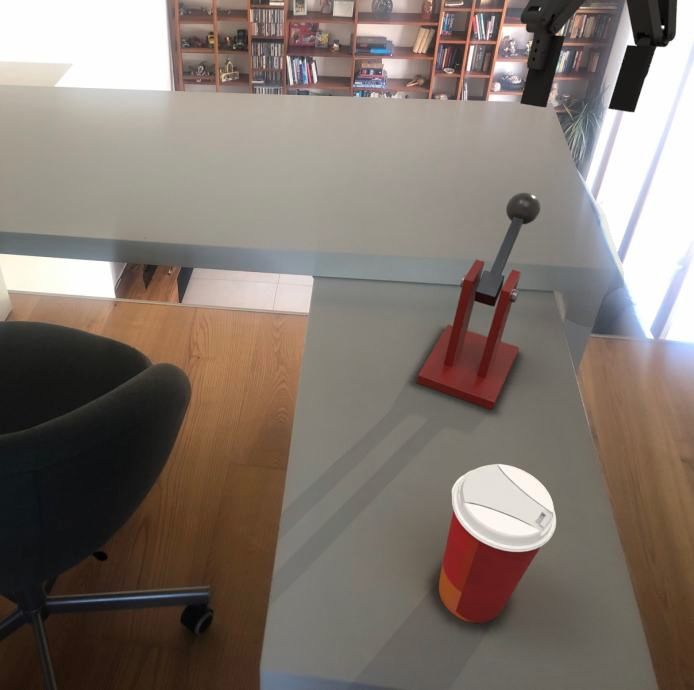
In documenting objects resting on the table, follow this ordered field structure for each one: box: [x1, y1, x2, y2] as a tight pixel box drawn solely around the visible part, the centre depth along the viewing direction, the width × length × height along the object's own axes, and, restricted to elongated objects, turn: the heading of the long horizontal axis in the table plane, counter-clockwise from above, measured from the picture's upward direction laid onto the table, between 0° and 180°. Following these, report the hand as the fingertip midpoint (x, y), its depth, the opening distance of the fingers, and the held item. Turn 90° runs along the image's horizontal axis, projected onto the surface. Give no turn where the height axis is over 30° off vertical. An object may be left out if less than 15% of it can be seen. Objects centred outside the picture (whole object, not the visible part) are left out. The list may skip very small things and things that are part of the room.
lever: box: [474, 192, 541, 308], centre depth 78 cm, size 14×4×4 cm, turn 148°
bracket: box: [416, 259, 522, 411], centre depth 80 cm, size 11×9×14 cm
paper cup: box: [438, 463, 557, 624], centre depth 57 cm, size 8×8×14 cm
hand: (578, 108), depth 73 cm, fingers open, 13 cm apart
